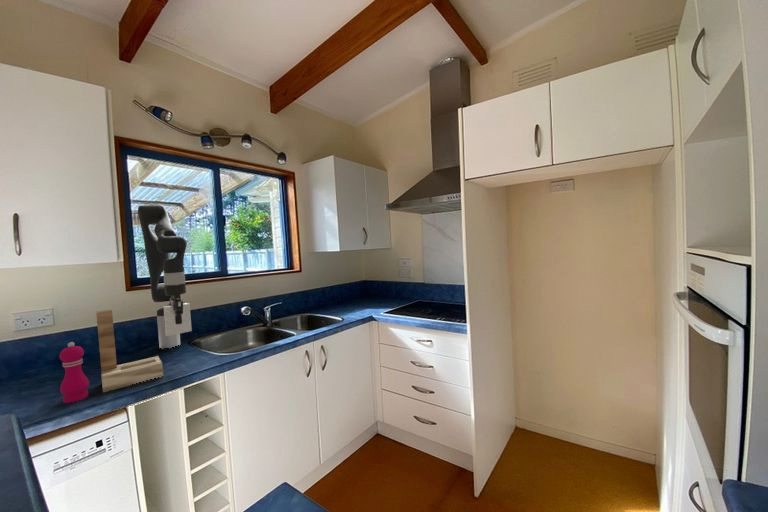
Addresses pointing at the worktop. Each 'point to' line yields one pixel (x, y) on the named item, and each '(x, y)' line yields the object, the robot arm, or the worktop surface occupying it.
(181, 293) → the robot arm
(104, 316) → the wooden l-shaped stand
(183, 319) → the grey stone slab
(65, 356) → the pepper mill
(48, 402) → the worktop surface
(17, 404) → the worktop surface
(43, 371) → the worktop surface
